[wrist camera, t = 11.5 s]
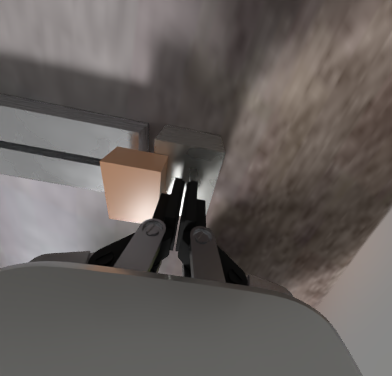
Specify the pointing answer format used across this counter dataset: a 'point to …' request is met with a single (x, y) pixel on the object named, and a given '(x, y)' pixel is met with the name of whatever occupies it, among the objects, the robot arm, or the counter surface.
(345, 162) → the counter surface
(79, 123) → the base
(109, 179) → the block
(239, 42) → the counter surface
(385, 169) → the counter surface
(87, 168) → the arm
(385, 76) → the counter surface
